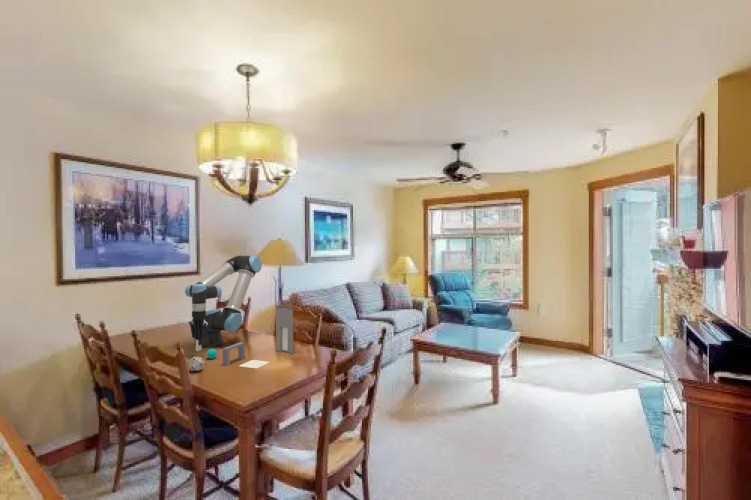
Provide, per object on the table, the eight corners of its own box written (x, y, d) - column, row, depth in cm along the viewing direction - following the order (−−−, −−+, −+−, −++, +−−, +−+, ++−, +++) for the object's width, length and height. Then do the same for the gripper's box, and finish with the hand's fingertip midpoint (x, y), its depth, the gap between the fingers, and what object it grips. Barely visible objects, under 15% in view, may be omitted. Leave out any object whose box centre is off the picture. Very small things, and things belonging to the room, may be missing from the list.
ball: (204, 359, 222) (204, 349, 222) (211, 356, 227) (211, 347, 227) (212, 360, 220) (212, 350, 220) (219, 357, 225) (219, 348, 225)
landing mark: (238, 366, 209) (238, 365, 209) (252, 360, 221) (252, 359, 221) (256, 368, 205) (256, 368, 205) (270, 362, 216) (270, 361, 216)
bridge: (222, 365, 211) (222, 348, 211) (240, 357, 225) (240, 342, 225) (227, 365, 210) (227, 348, 210) (244, 358, 224) (244, 342, 224)
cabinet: (292, 354, 233) (292, 308, 232) (276, 355, 230) (276, 308, 230) (290, 345, 253) (290, 303, 252) (275, 346, 250) (275, 303, 250)
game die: (196, 379, 199) (190, 368, 193) (187, 371, 204) (180, 359, 197) (211, 367, 205) (205, 356, 199) (202, 359, 209) (196, 348, 203)
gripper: (185, 310, 225) (185, 350, 225) (202, 312, 220) (202, 353, 220) (195, 308, 232) (195, 347, 232) (212, 310, 227) (212, 349, 227)
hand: (198, 350), depth 226 cm, fingers closed
